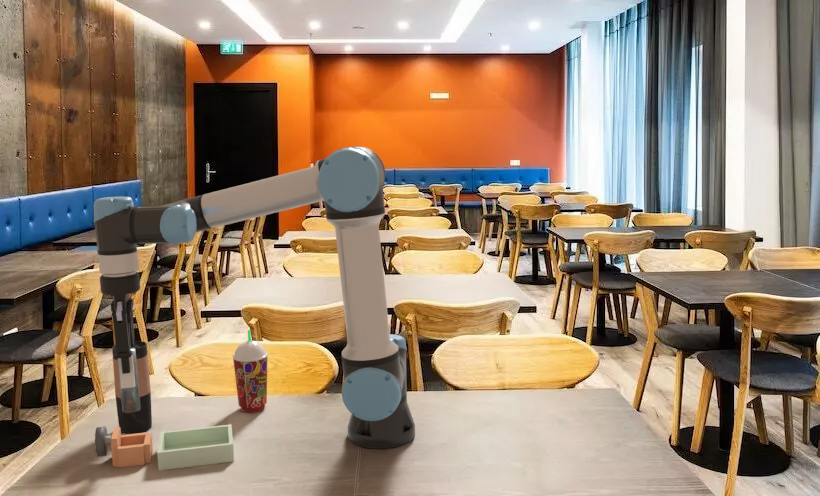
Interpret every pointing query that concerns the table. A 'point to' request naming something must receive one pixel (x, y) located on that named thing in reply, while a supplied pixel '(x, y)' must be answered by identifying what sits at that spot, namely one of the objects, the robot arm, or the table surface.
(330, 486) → the table surface
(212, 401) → the table surface
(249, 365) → the smoothie
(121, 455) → the block
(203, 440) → the tray
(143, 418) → the travel mug
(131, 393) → the pin
